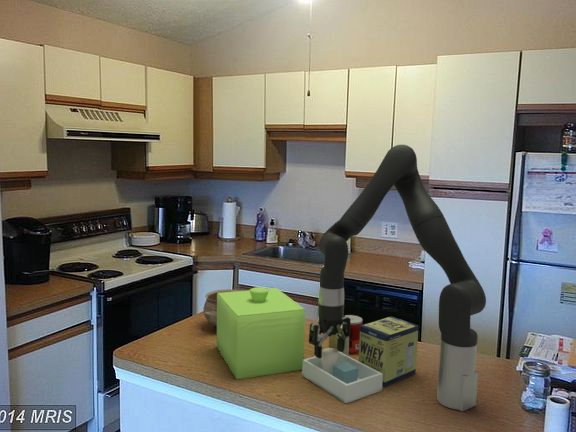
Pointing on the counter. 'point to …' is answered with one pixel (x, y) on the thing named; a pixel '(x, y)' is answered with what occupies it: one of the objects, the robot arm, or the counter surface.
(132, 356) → the counter surface
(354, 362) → the tote
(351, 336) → the canned food
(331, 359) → the white piece
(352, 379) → the cube
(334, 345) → the skincare box
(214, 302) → the cooking pot
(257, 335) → the canister
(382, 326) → the protein box
